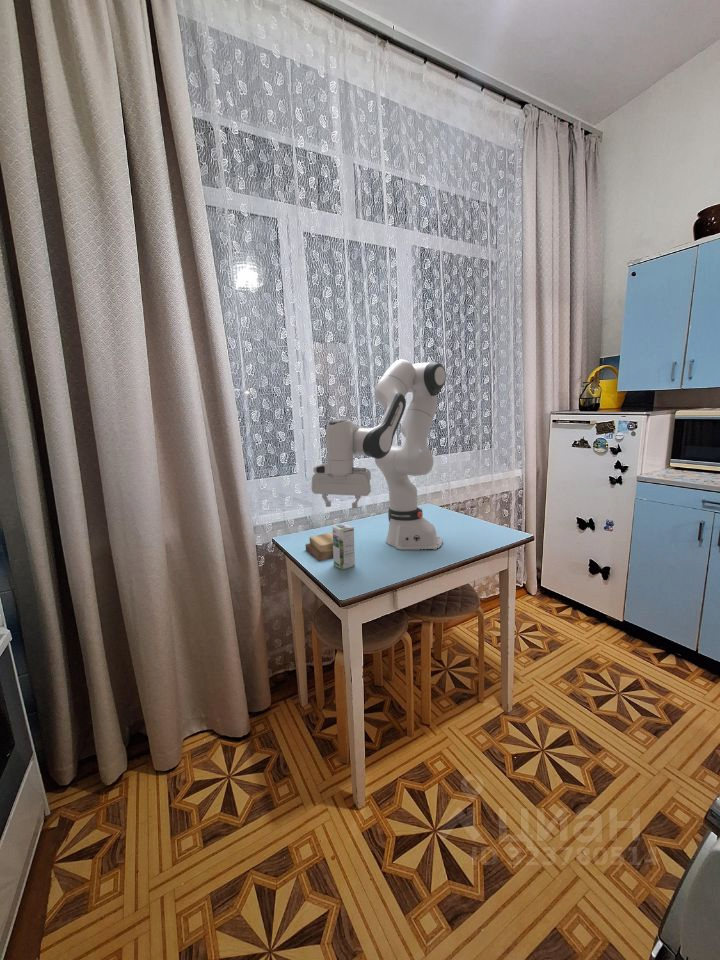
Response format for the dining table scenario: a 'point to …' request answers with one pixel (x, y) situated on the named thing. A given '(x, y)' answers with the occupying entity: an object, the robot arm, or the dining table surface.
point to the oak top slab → (322, 542)
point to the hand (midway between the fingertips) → (341, 507)
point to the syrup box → (343, 546)
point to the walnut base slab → (318, 553)
